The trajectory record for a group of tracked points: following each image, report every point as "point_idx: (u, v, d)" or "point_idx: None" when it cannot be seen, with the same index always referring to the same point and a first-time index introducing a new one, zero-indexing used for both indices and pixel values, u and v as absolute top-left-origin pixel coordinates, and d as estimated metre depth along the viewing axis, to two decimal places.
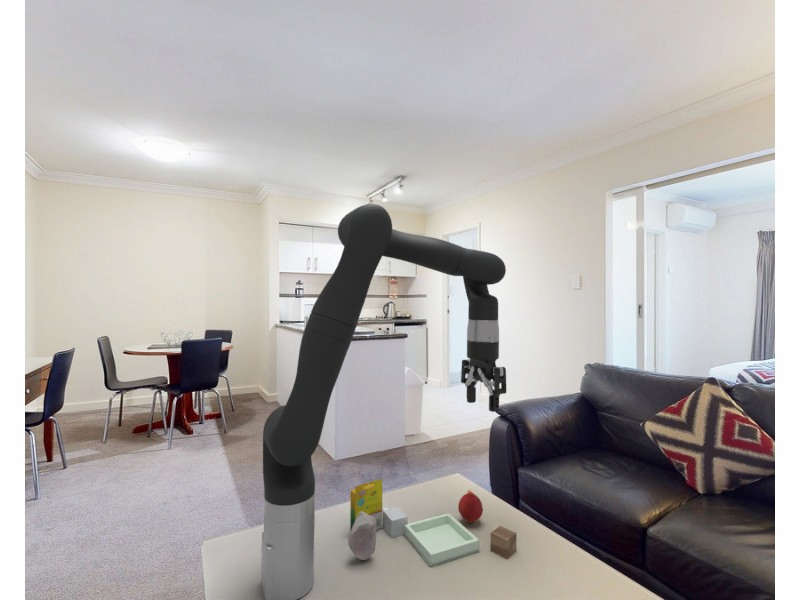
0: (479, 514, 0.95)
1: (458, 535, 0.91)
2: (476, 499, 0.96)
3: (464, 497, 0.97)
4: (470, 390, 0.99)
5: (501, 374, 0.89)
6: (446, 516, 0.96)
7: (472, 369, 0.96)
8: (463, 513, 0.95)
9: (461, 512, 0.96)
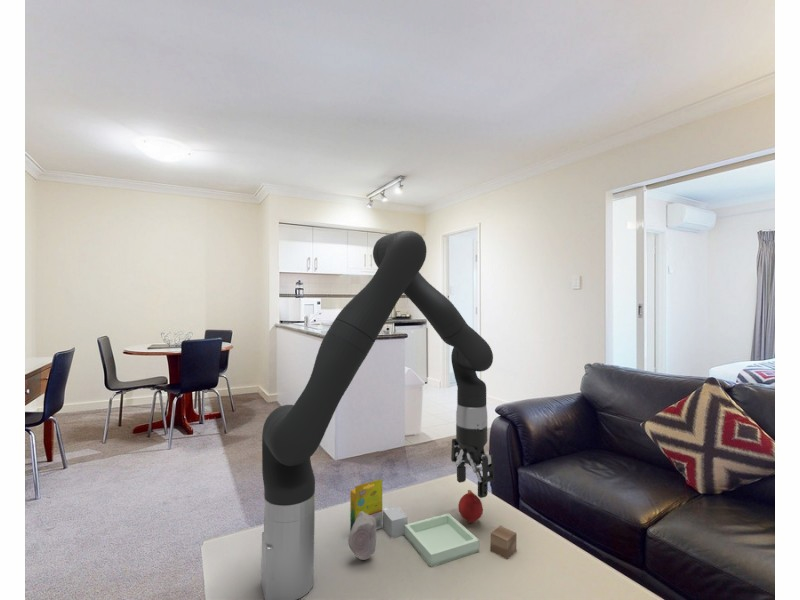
0: (479, 514, 0.95)
1: (458, 535, 0.91)
2: (476, 499, 0.96)
3: (464, 497, 0.97)
4: (460, 470, 1.01)
5: (489, 463, 0.91)
6: (446, 516, 0.96)
7: (461, 452, 0.98)
8: (463, 513, 0.95)
9: (461, 512, 0.96)
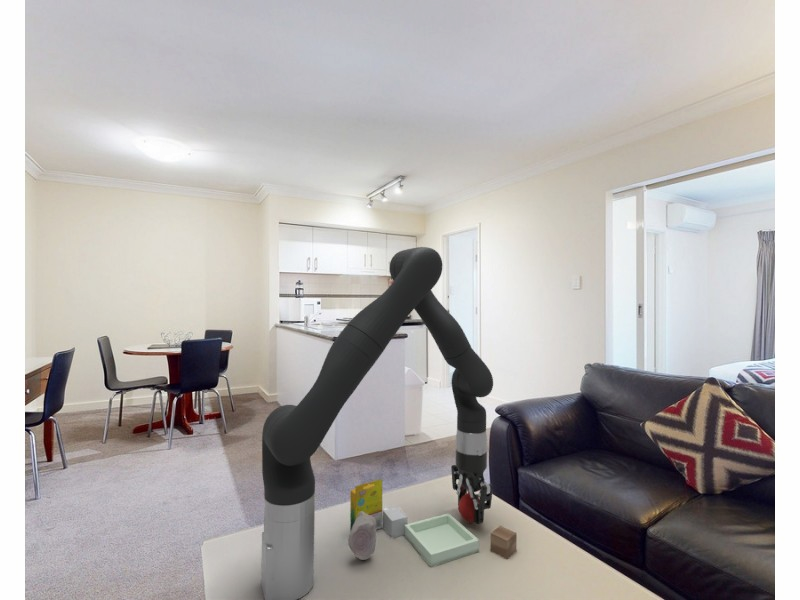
0: None
1: (458, 535, 0.91)
2: None
3: (464, 497, 0.97)
4: None
5: (487, 492, 0.91)
6: (446, 516, 0.96)
7: (461, 477, 0.98)
8: (463, 513, 0.95)
9: (461, 512, 0.96)
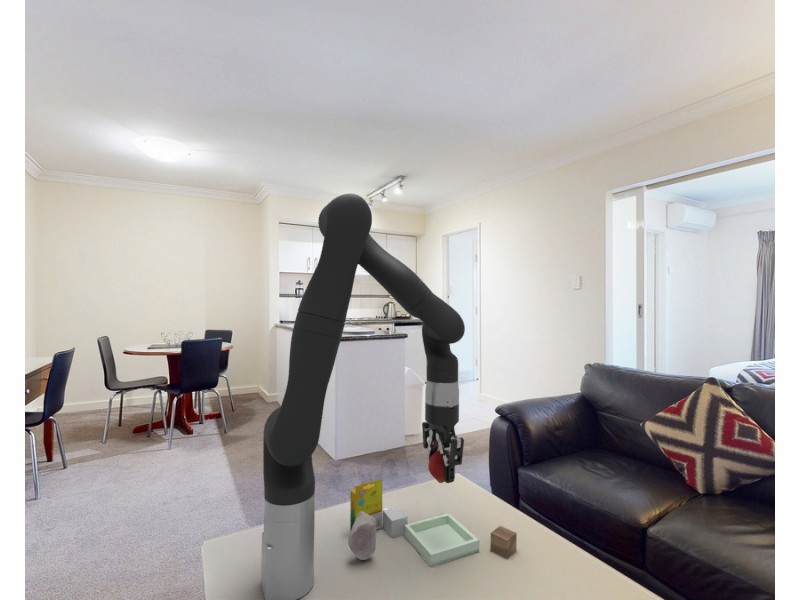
0: None
1: (458, 535, 0.91)
2: None
3: (434, 454, 0.89)
4: None
5: (458, 446, 0.83)
6: (446, 516, 0.96)
7: (431, 433, 0.89)
8: (433, 471, 0.87)
9: (431, 470, 0.87)
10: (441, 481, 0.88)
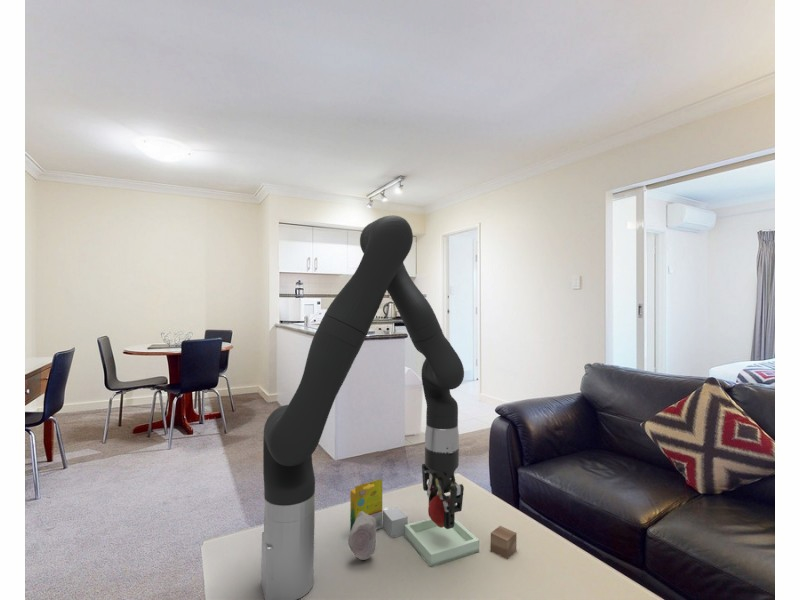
0: None
1: (458, 535, 0.91)
2: (447, 501, 0.88)
3: (434, 499, 0.89)
4: None
5: (458, 494, 0.83)
6: None
7: (430, 477, 0.89)
8: (432, 516, 0.87)
9: (430, 515, 0.87)
10: (441, 526, 0.88)
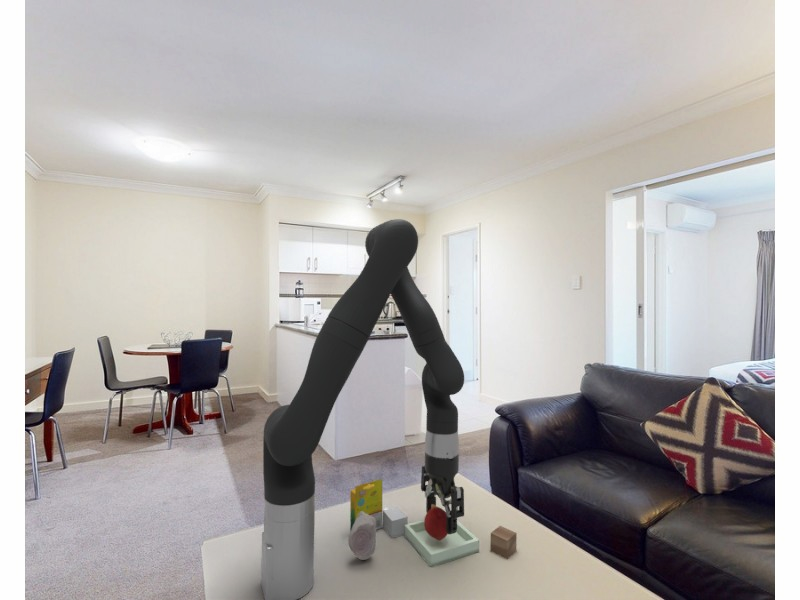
0: None
1: (458, 535, 0.91)
2: (441, 513, 0.88)
3: (428, 513, 0.89)
4: (429, 501, 0.92)
5: (458, 496, 0.83)
6: None
7: (430, 482, 0.89)
8: (429, 531, 0.87)
9: (427, 530, 0.87)
10: (439, 539, 0.88)
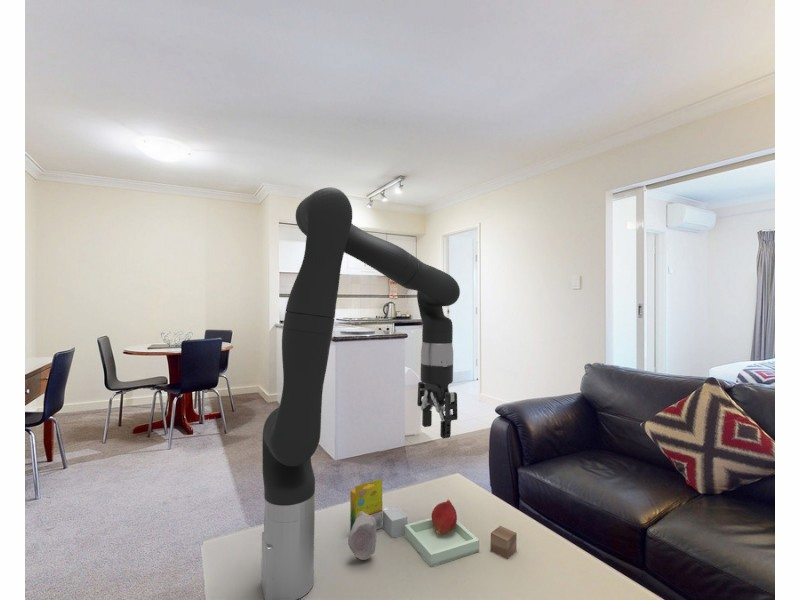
0: (450, 517, 0.90)
1: (458, 535, 0.91)
2: (452, 506, 0.93)
3: None
4: (425, 414, 0.96)
5: (452, 400, 0.86)
6: None
7: (426, 393, 0.93)
8: (435, 511, 0.92)
9: (433, 511, 0.92)
10: (439, 526, 0.90)
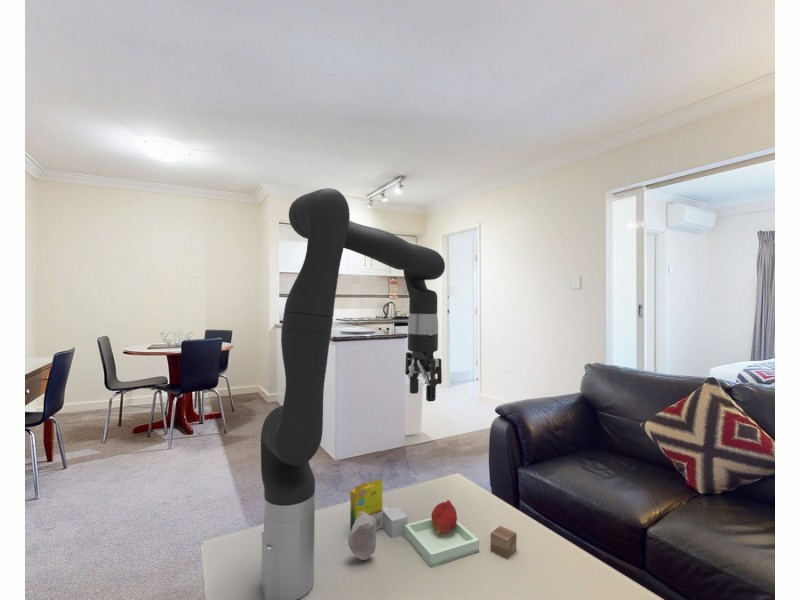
0: (450, 517, 0.90)
1: (458, 535, 0.91)
2: (452, 506, 0.93)
3: None
4: (412, 381, 1.03)
5: (436, 365, 0.93)
6: None
7: (413, 361, 1.00)
8: (435, 511, 0.92)
9: (433, 511, 0.92)
10: (439, 526, 0.90)
